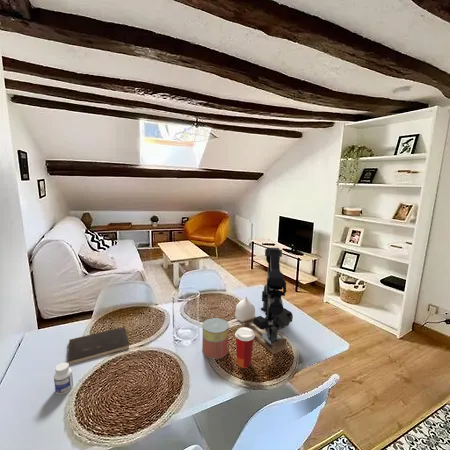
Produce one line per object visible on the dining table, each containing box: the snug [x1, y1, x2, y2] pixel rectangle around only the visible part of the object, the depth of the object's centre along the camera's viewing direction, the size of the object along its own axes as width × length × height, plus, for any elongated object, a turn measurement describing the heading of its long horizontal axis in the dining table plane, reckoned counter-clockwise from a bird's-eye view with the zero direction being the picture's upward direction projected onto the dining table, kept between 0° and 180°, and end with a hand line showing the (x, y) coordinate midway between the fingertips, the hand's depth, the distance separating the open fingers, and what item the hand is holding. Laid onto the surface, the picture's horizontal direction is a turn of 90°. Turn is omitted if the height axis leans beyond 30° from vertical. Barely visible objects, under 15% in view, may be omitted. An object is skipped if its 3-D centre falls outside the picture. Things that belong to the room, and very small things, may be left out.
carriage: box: [262, 324, 283, 346], centre depth 115 cm, size 6×6×7 cm
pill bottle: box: [53, 362, 74, 395], centre depth 88 cm, size 5×5×9 cm
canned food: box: [201, 317, 230, 360], centre depth 110 cm, size 11×11×12 cm
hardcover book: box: [66, 326, 130, 365], centre depth 112 cm, size 16×23×2 cm
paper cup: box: [234, 326, 255, 369], centre depth 103 cm, size 8×8×14 cm
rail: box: [243, 316, 287, 355], centre depth 120 cm, size 22×7×5 cm, turn 32°
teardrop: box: [234, 296, 256, 323], centre depth 138 cm, size 11×11×12 cm
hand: (272, 335), depth 115 cm, fingers closed on carriage, 3 cm apart
